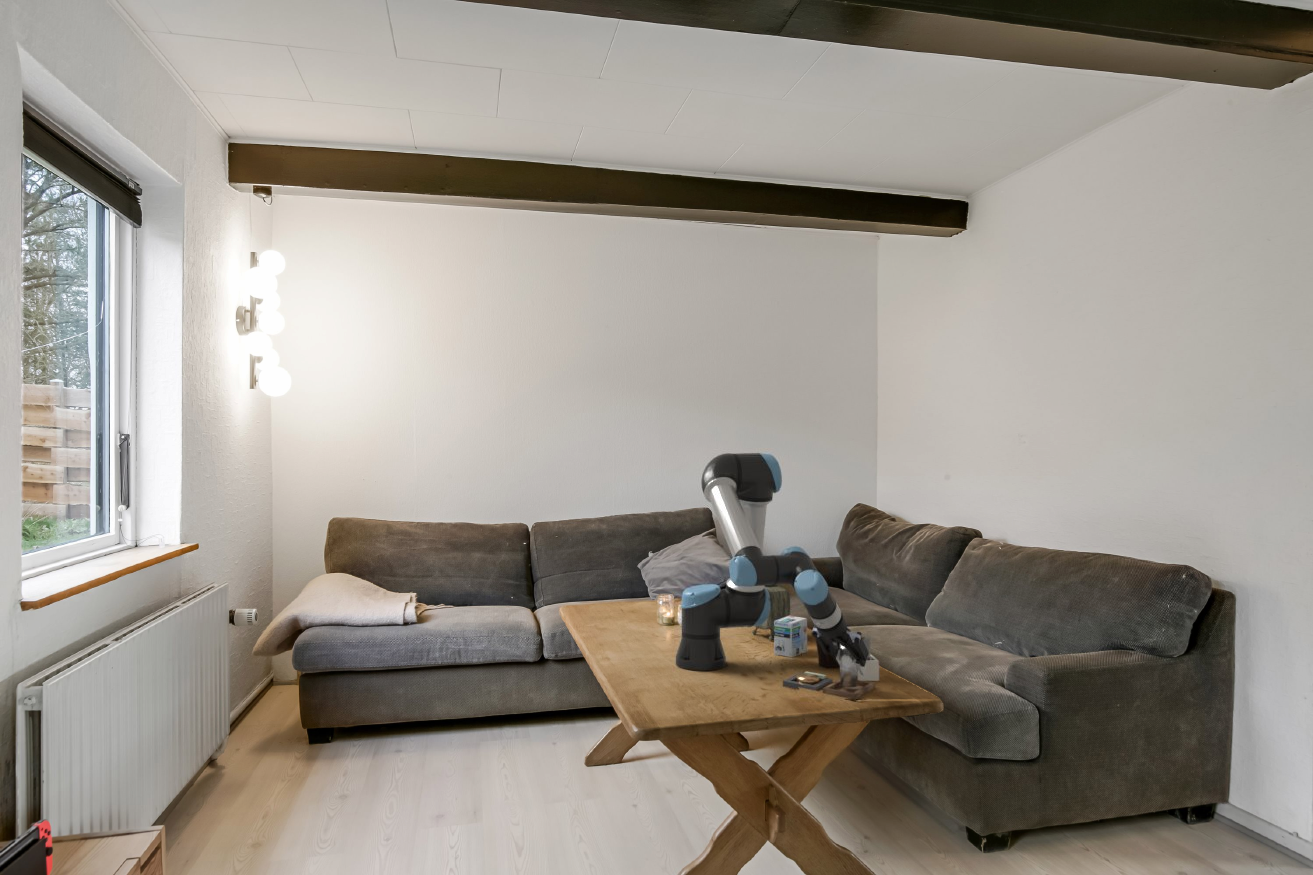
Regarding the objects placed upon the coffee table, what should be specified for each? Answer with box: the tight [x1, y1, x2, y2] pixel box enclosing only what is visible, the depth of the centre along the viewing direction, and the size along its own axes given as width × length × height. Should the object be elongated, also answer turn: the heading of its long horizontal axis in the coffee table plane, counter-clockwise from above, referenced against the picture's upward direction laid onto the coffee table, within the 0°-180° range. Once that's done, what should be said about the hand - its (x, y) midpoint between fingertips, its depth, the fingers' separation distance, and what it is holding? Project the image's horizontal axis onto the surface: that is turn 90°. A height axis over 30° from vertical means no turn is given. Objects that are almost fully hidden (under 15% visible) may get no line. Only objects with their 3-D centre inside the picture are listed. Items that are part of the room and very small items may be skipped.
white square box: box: [858, 653, 880, 682], centre depth 224 cm, size 8×8×6 cm
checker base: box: [782, 671, 834, 692], centre depth 218 cm, size 10×10×2 cm
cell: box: [839, 644, 858, 687], centre depth 212 cm, size 5×5×12 cm
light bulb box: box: [773, 615, 808, 658], centre depth 254 cm, size 11×7×11 cm, turn 143°
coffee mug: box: [815, 639, 840, 670], centre depth 235 cm, size 12×9×10 cm
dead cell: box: [861, 634, 871, 660], centre depth 224 cm, size 5×5×12 cm
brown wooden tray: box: [822, 679, 876, 702], centre depth 212 cm, size 13×9×2 cm
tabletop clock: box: [751, 585, 791, 642], centre depth 276 cm, size 14×9×25 cm, turn 25°
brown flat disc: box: [796, 673, 819, 685], centre depth 218 cm, size 6×6×1 cm
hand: (854, 669), depth 215 cm, fingers closed on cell, 4 cm apart
